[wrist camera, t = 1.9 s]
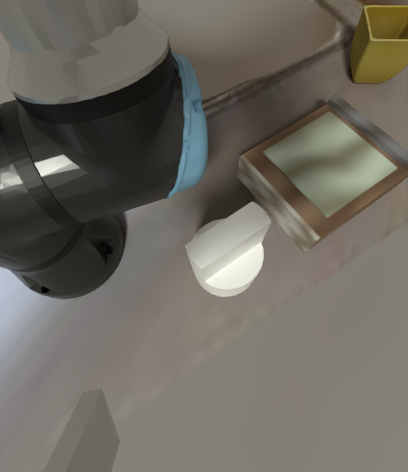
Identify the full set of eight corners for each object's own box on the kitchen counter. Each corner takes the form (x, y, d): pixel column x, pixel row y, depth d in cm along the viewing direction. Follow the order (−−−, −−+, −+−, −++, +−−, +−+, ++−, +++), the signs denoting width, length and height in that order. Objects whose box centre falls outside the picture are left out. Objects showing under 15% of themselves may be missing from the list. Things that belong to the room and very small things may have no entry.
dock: (236, 176, 42) (240, 151, 36) (321, 124, 45) (336, 94, 39) (303, 252, 37) (319, 237, 31) (394, 187, 40) (423, 163, 34)
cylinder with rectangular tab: (217, 310, 34) (217, 297, 23) (181, 257, 37) (166, 224, 26) (269, 272, 36) (293, 243, 25) (231, 224, 39) (237, 180, 28)
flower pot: (393, 92, 47) (431, 40, 39) (344, 91, 48) (371, 39, 39) (385, 60, 50) (419, 5, 42) (339, 59, 51) (363, 4, 42)
